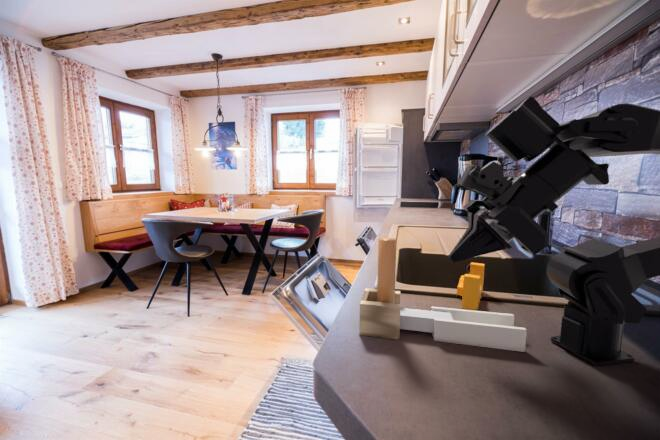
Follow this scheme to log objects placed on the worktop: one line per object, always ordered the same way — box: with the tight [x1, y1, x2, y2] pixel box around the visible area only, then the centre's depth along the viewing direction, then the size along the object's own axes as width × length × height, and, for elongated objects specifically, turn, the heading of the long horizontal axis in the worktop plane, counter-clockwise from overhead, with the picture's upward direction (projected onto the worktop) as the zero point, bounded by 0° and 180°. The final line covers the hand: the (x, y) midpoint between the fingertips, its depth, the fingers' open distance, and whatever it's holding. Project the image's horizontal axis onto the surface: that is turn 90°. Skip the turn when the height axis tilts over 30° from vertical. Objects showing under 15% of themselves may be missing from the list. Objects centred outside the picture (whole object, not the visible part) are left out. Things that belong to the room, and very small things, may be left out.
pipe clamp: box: [456, 261, 486, 311], centre depth 59 cm, size 12×4×6 cm, turn 148°
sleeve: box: [430, 305, 528, 353], centre depth 44 cm, size 12×5×3 cm, turn 76°
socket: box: [358, 287, 401, 341], centre depth 47 cm, size 6×7×5 cm
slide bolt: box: [376, 237, 453, 334], centre depth 45 cm, size 12×3×14 cm, turn 76°
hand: (450, 259), depth 44 cm, fingers closed
